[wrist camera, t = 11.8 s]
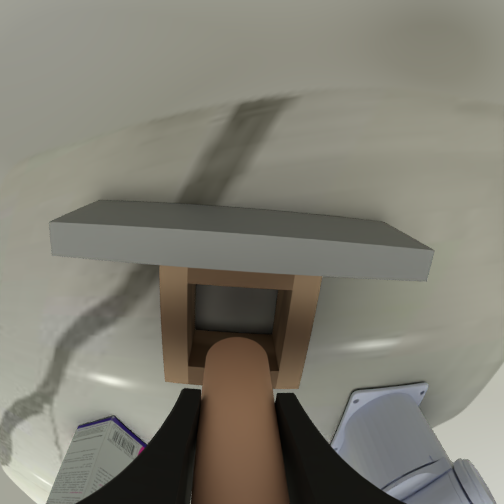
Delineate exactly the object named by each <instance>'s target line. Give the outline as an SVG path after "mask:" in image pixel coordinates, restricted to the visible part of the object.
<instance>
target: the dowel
mask: <svg viewBox="0 0 504 504" xmlns="http://www.w3.org/2000/svg"><path fill="white" fill-rule="evenodd" d="M191 504H290V500H289V494H288V487H287V481H286V474H285V468H284V461H283V454H282V448H281V441H280V435H279V428H278V422H277V415H276V409H275V402H274V395H273V389H272V382H271V376H270V369H269V363H268V357H267V354H266V351H265V350H264V349H263V347H262V346H261V345H259V344H258V343H257V342H255V341H253V340H251V339H248V338H243V337H230V338H226V339H223V340H221V341H219V342H217V343H215V344H214V345H213V346H212V347H211V348H210V349H209V351H208V353H207V355H206V361H205V369H204V378H203V386H202V395H201V406H200V415H199V423H198V431H197V441H196V451H195V462H194V472H193V483H192V495H191Z"/></svg>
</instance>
